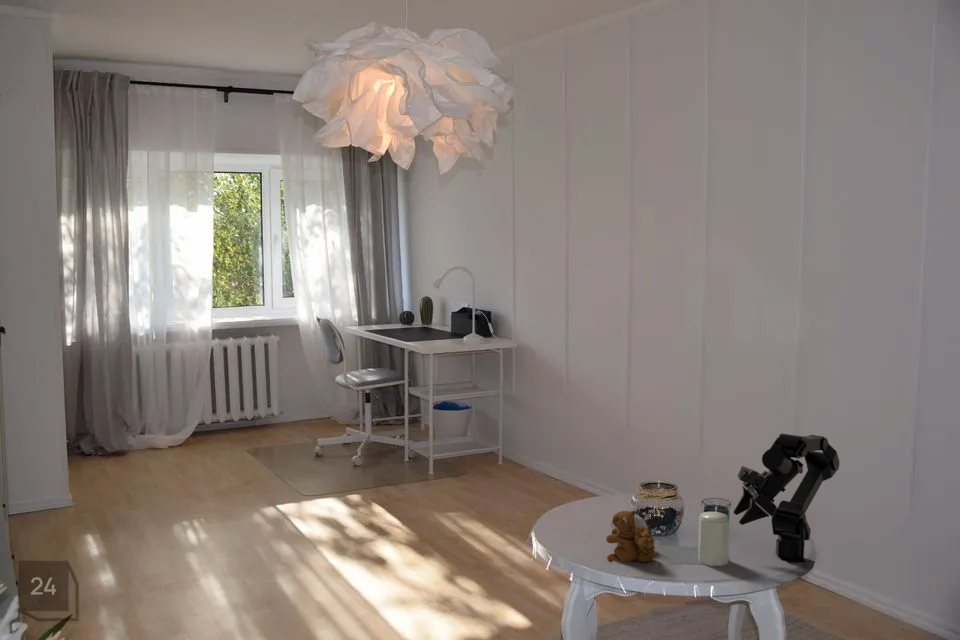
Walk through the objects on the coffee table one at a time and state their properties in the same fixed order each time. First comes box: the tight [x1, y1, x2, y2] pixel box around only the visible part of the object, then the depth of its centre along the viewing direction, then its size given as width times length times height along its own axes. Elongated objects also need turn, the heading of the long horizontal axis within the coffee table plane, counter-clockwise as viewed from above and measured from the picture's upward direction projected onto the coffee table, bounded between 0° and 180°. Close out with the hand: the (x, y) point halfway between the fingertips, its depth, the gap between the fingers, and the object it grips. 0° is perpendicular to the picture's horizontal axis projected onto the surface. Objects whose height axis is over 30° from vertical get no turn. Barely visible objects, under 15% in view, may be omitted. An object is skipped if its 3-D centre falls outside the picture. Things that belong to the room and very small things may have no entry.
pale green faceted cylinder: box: [697, 511, 730, 567], centre depth 242 cm, size 7×7×12 cm
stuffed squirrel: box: [606, 510, 657, 563], centre depth 244 cm, size 10×14×13 cm
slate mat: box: [661, 545, 734, 567], centre depth 247 cm, size 17×14×1 cm
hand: (737, 518), depth 243 cm, fingers open, 9 cm apart
